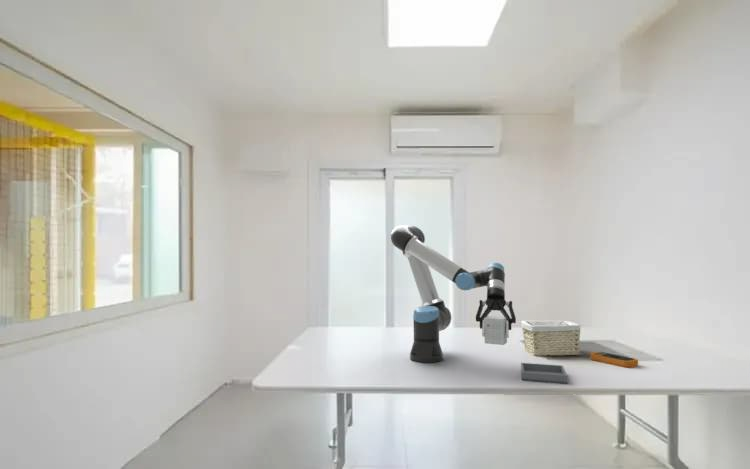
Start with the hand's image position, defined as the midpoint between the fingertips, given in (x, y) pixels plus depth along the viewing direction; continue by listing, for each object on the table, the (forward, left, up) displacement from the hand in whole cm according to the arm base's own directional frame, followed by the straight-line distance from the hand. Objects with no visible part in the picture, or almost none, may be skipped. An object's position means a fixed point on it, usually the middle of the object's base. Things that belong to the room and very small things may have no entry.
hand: (495, 335), depth 175 cm
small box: (0, +3, -4) cm, 5 cm away
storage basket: (+24, +46, -16) cm, 54 cm away
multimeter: (+49, +33, -16) cm, 61 cm away
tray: (+18, 0, -15) cm, 23 cm away
